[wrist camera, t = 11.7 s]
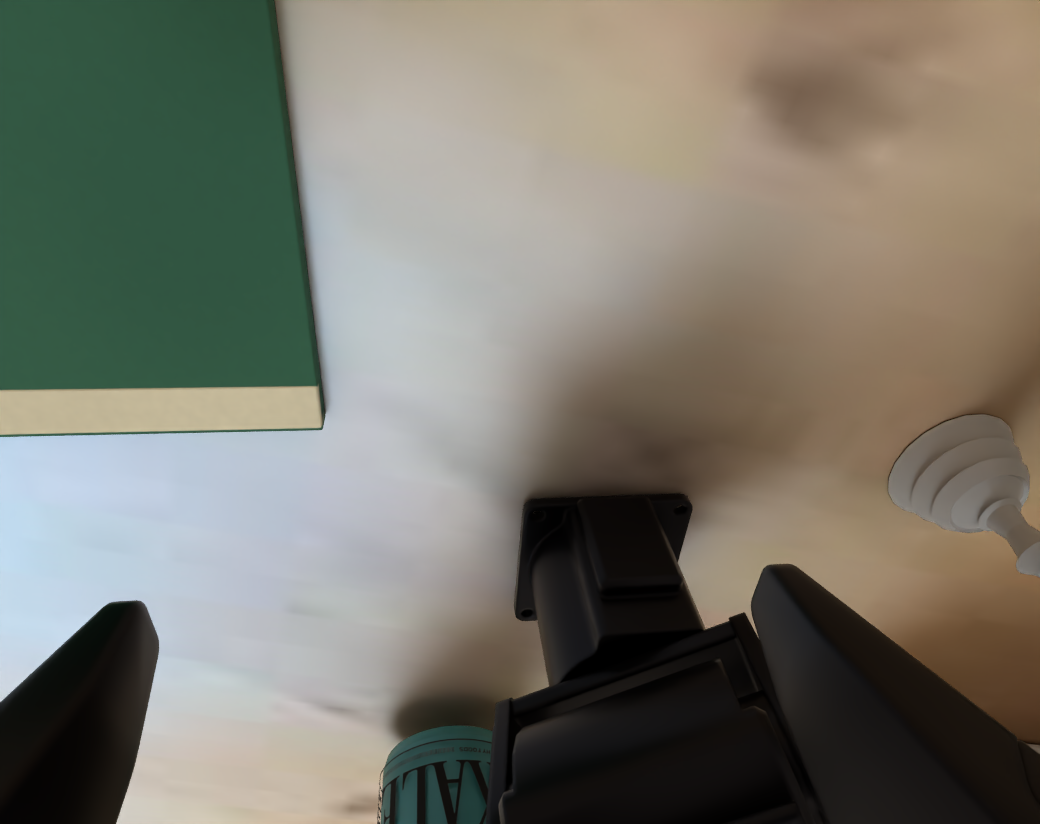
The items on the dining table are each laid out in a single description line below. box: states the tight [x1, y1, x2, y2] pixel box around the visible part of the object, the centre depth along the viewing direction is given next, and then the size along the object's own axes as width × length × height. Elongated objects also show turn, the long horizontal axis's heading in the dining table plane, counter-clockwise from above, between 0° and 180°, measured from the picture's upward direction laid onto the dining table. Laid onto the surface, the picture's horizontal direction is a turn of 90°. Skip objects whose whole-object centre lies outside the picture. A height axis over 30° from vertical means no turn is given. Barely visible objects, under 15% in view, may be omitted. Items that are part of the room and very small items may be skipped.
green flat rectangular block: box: [0, 0, 325, 437], centre depth 15 cm, size 20×12×1 cm, turn 176°
